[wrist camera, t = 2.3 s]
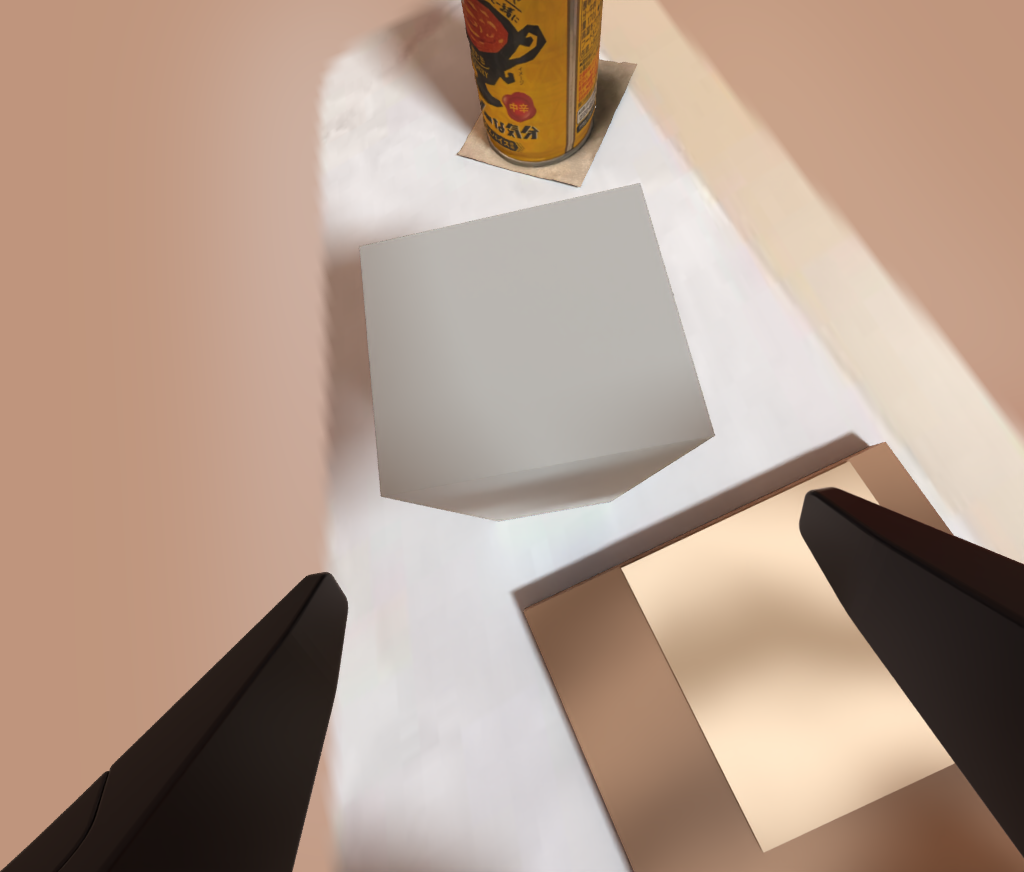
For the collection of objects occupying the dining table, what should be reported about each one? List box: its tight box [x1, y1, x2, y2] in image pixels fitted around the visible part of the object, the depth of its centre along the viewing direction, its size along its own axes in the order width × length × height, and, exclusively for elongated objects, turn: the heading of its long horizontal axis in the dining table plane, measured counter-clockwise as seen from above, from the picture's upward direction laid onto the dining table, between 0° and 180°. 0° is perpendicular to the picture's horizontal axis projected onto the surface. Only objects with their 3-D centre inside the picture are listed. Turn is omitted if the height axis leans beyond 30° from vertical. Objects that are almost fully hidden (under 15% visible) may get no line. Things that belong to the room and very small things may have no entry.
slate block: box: [359, 183, 715, 522], centre depth 13 cm, size 4×5×12 cm
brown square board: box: [524, 442, 1024, 872], centre depth 15 cm, size 18×16×1 cm
